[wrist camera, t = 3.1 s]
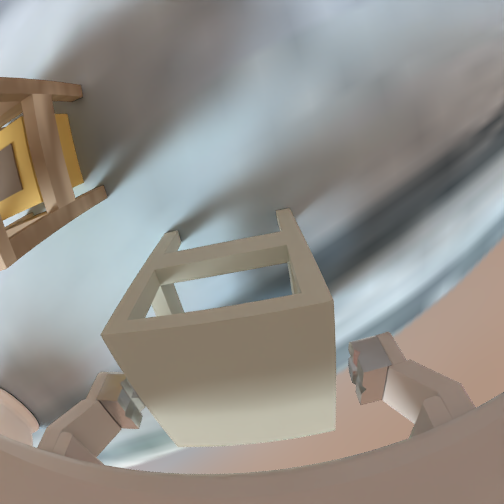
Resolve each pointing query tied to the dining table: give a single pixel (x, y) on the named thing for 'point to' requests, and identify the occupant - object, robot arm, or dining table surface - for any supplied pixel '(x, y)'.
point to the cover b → (230, 344)
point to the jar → (16, 419)
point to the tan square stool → (41, 164)
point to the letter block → (29, 166)
